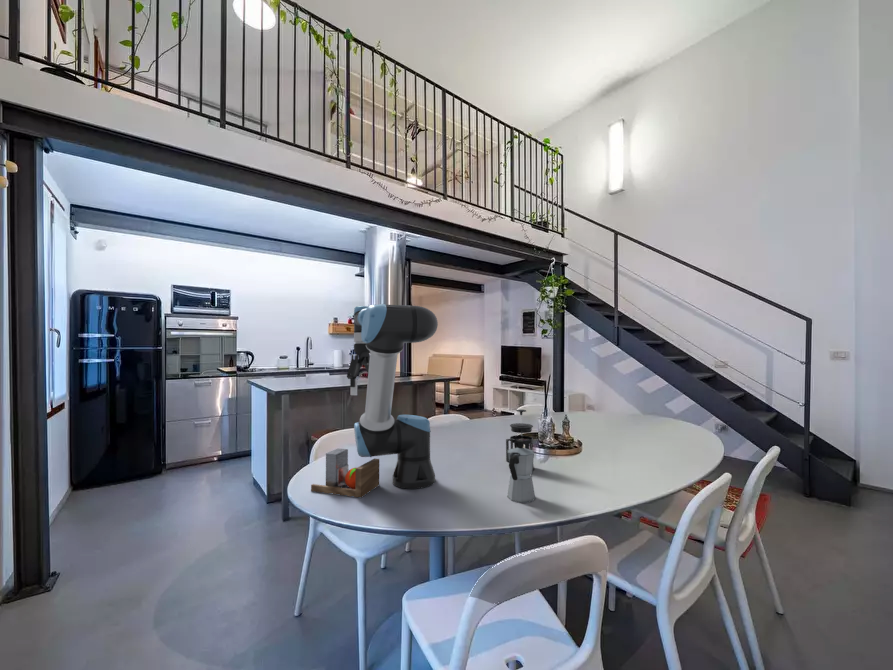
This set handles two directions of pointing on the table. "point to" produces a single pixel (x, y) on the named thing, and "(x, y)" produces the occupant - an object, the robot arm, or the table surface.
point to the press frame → (356, 481)
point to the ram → (336, 467)
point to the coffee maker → (521, 474)
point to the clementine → (351, 478)
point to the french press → (520, 429)
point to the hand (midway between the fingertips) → (362, 393)
